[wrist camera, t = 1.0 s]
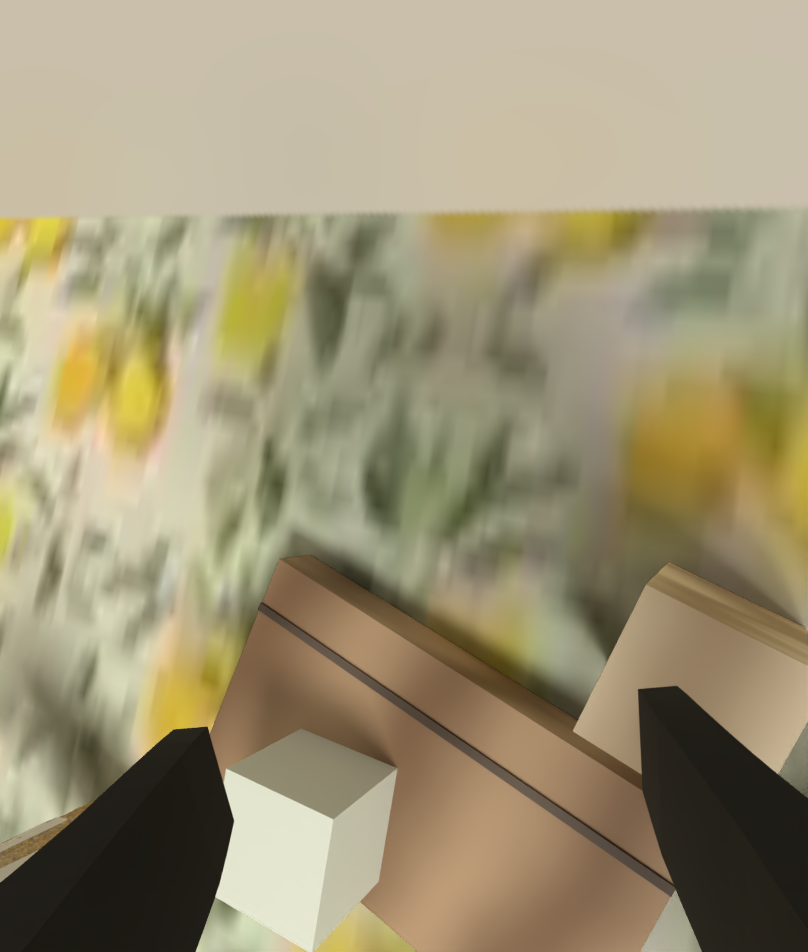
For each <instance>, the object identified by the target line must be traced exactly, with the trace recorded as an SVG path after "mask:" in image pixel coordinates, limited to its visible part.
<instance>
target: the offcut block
mask: <svg viewBox="0 0 808 952" xmlns="http://www.w3.org/2000/svg"><path fill="white" fill-rule="evenodd" d="M396 774H397V768H396V767H393V766H391V765H389V764H386V763H384V762H381V761H379V760H376V759H374V758H372V757H369V756H367V755H364V754H362V753H359V752H357V751H354V750H352V749H350V748H347V747H345V746H342V745H340V744H337V743H335V742H333V741H330V740H328V739H325V738H323V737H320V736H318V735H316V734H313V733H311V732H308V731H306V730H303V729H300V730H298V731H296V732H294V733H292V734H290V735H288V736H286V737H285V738H283V739H281V740H279V741H277V742H275V743H273V744H271V745H269V746H268V747H266V748H264V749H262V750H260V751H258V752H256V753H254V754H253V755H251V756H249V757H247V758H245V759H243V760H241V761H239V762H237V763H236V764H234V765H232V766H230V767H228V768H226V772H225V779H224V787H225V790H226V794H227V797H228V801H229V804H230V808H231V811H232V815H233V818H234V825H233V829H232V834H231V838H230V843H229V847H228V852H227V856H226V860H225V864H224V868H223V872H222V876H221V880H220V884H219V887H218V890H217V893H216V896H215V897H216V898H218V899H220V900H222V901H223V902H225V903H227V904H228V905H230V906H232V907H233V908H235V909H237V910H238V911H240V912H242V913H244V914H245V915H247V916H249V917H250V918H252V919H254V920H255V921H257V922H259V923H260V924H262V925H264V926H265V927H267V928H269V929H271V930H272V931H274V932H276V933H277V934H279V935H281V936H282V937H284V938H286V939H287V940H289V941H291V942H292V943H294V944H296V945H298V946H299V947H301V948H303V949H304V950H306V951H308V952H314V951H315V950H316V949H317V947H318V946H319V945H320V944H321V943H322V942H323V941H324V940H325V939H326V938H327V937H328V936H329V935H330V933H331V932H332V931H333V930H334V929H335V928H336V927H337V926H338V925H339V924H340V923H341V922H342V921H343V920H344V918H345V917H346V916H347V915H348V914H349V913H350V912H351V911H352V910H353V909H354V908H355V907H356V906H357V904H358V903H359V902H360V901H361V900H362V899H363V898H364V897H365V896H366V895H367V894H368V893H369V892H370V890H371V889H372V888H373V887H374V886H375V885H376V884H377V883H378V882H379V876H380V870H381V864H382V858H383V852H384V846H385V840H386V834H387V828H388V822H389V816H390V810H391V804H392V798H393V792H394V786H395V780H396Z"/></svg>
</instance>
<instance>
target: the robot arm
mask: <svg viewBox="0 0 808 952" xmlns="http://www.w3.org/2000/svg"><path fill="white" fill-rule="evenodd" d="M638 703H639V726H640V748H641V770H642V791H643V795H644V798H645V802H646V805H647V808H648V812H649V815H650V819H651V822H652V825H653V829H654V832H655V835H656V838H657V842H658V845H659V848H660V851H661V855H662V857H663V860H664V862H665V865H666V867H667V869H668V872H669V874H670V877H671V879H672V881H673V884H674V886H675V889H676V891H677V893H678V896H679V898H680V901H681V903H682V905H683V908H684V910H685V912H686V915H687V917H688V920H689V922H690V924H691V927H692V929H693V931H694V934H695V936H696V938H697V941H698V943H699V945H700V948H701V950H702V952H808V798H807V797H806V796H804V795H803V794H802V793H801V792H799V791H798V790H797V789H796V788H794V787H793V786H792V785H790V784H789V783H788V782H787V781H786V780H784V779H783V778H782V777H781V776H780V775H778V774H777V773H776V772H775V771H774V770H772V769H771V768H770V767H769V766H768V765H766V764H765V763H764V762H763V761H762V760H760V759H759V758H758V757H757V756H756V755H754V754H753V753H752V752H751V751H750V750H749V749H747V748H746V747H745V746H744V745H743V744H742V743H741V742H739V741H738V740H737V739H736V738H735V737H734V736H733V735H732V734H730V733H729V732H728V731H727V730H726V729H725V728H724V727H723V726H721V725H720V724H719V723H718V722H717V721H716V720H715V719H714V718H713V717H712V716H710V715H709V714H708V713H707V712H706V711H705V710H704V709H703V708H702V707H701V706H700V705H698V704H697V703H696V702H695V701H694V700H693V699H692V698H691V697H690V696H689V695H688V694H686V693H685V692H684V691H683V690H682V689H681V688H679V687H678V686H667V687H656V688H644V689H638ZM233 825H234V818H233V815H232V811H231V808H230V804H229V801H228V797H227V794H226V790H225V787H224V783H223V780H222V776H221V772H220V769H219V765H218V762H217V758H216V755H215V751H214V748H213V744H212V741H211V737H210V734H209V730H208V727H199V728H187V729H176V730H173V731H172V732H170V733H169V734H168V735H167V736H165V737H164V738H163V739H162V740H161V741H160V742H158V743H157V744H156V745H155V746H154V747H153V748H152V749H151V750H150V751H148V752H147V753H146V754H145V755H144V756H143V757H142V758H141V759H140V760H139V761H138V762H136V763H135V764H134V765H133V766H132V767H131V768H130V769H129V770H128V771H127V772H126V773H125V774H123V775H122V776H121V777H120V778H119V779H118V780H117V781H116V782H115V783H114V784H113V785H112V786H110V787H109V788H108V789H107V790H106V791H105V792H104V793H103V794H102V795H101V796H100V797H98V798H97V799H96V800H95V801H94V802H93V803H92V804H91V805H90V806H89V807H87V808H86V809H85V810H84V811H83V812H82V813H81V814H80V815H79V816H78V817H77V818H75V819H74V820H73V821H72V822H71V823H70V824H69V825H68V826H66V827H65V828H64V829H63V830H62V831H61V832H59V833H58V834H57V835H56V836H55V837H53V838H52V839H51V840H50V841H49V842H48V843H46V844H45V845H44V846H43V847H42V848H41V849H39V850H38V851H37V852H36V853H35V854H34V855H32V856H31V857H30V858H29V859H28V860H27V861H25V862H24V863H23V864H22V865H21V866H20V867H18V868H17V869H16V870H15V871H14V872H12V873H11V874H10V875H9V876H8V877H6V878H5V879H4V880H3V881H1V882H0V952H196V949H197V946H198V943H199V941H200V938H201V935H202V932H203V930H204V927H205V924H206V921H207V918H208V916H209V913H210V910H211V907H212V904H213V902H214V899H215V896H216V893H217V890H218V887H219V884H220V880H221V876H222V872H223V868H224V864H225V860H226V856H227V852H228V847H229V843H230V838H231V834H232V829H233Z"/></svg>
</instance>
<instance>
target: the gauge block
mask: <svg viewBox="0 0 808 952" xmlns="http://www.w3.org/2000/svg"><path fill="white" fill-rule="evenodd" d="M667 686H678V687H679V688H681V689H682V690H683V691H684V692H685V693H686V694H688V695H689V696H690V697H691V698H692V699H693V700H694V701H695V702H696V703H697V704H698V705H700V706H701V707H702V708H703V709H704V710H705V711H706V712H707V713H708V714H709V715H710V716H712V717H713V718H714V719H715V720H716V721H717V722H718V723H719V724H720V725H721V726H723V727H724V728H725V729H726V730H727V731H728V732H729V733H730V734H732V735H733V736H734V737H735V738H736V739H737V740H738V741H739V742H741V743H742V744H743V745H744V746H745V747H746V748H747V749H749V750H750V751H751V752H752V753H753V754H754V755H756V756H757V757H758V758H759V759H760V760H762V761H763V762H764V763H765V764H766V765H768V766H769V767H770V768H771V769H772V770H774V771H775V772H776V773H777V774H778V773H779V772H780V770H781V768H782V766H783V764H784V763H785V761H786V759H787V757H788V756H789V754H790V752H791V750H792V749H793V747H794V745H795V743H796V741H797V740H798V738H799V736H800V734H801V733H802V731H803V729H804V727H805V726H806V724H807V722H808V633H807V631H806V629H805V627H803V626H801V625H799V624H797V623H795V622H793V621H791V620H788V619H786V618H784V617H782V616H780V615H778V614H776V613H774V612H772V611H770V610H768V609H766V608H763V607H761V606H759V605H757V604H755V603H753V602H751V601H749V600H747V599H745V598H743V597H740V596H738V595H736V594H734V593H732V592H730V591H728V590H726V589H724V588H722V587H720V586H718V585H715V584H713V583H711V582H709V581H707V580H705V579H703V578H701V577H699V576H697V575H695V574H693V573H690V572H688V571H686V570H684V569H682V568H680V567H678V566H676V565H674V564H672V563H670V562H668V563H667V564H666V565H665V566H664V567H663V568H662V569H661V570H660V571H659V572H658V573H657V574H656V575H655V576H654V577H653V578H652V579H651V580H650V581H649V582H648V583H647V584H646V585H645V587H644V589H643V591H642V593H641V595H640V597H639V599H638V601H637V603H636V605H635V607H634V609H633V611H632V613H631V615H630V617H629V619H628V621H627V623H626V625H625V627H624V629H623V631H622V633H621V635H620V637H619V639H618V641H617V643H616V645H615V647H614V649H613V651H612V653H611V655H610V657H609V659H608V661H607V663H606V665H605V667H604V669H603V671H602V673H601V675H600V677H599V679H598V681H597V683H596V685H595V687H594V689H593V691H592V693H591V695H590V697H589V699H588V701H587V703H586V705H585V707H584V709H583V711H582V713H581V715H580V717H579V719H578V721H577V723H576V725H575V727H574V729H573V732H575V733H576V734H578V735H579V736H581V737H583V738H584V739H586V740H587V741H589V742H591V743H592V744H594V745H595V746H597V747H599V748H600V749H602V750H603V751H605V752H607V753H608V754H610V755H611V756H613V757H615V758H616V759H618V760H619V761H621V762H622V763H624V764H626V765H627V766H629V767H630V768H632V769H634V770H635V771H637V772H638V773H640V774H642V770H641V748H640V726H639V703H638V689H644V688H656V687H667Z"/></svg>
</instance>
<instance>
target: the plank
mask: <svg viewBox="0 0 808 952" xmlns="http://www.w3.org/2000/svg"><path fill="white" fill-rule="evenodd" d="M258 610H259V612H258V614H257V617H256V619H255V622H254V624H253V627H252V629H251V632H250V634H249V637H248V639H247V642H246V644H245V647H244V649H243V652H242V655H241V657H240V660H239V662H238V665H237V667H236V670H235V672H234V675H233V677H232V680H231V682H230V685H229V687H228V690H227V692H226V695H225V697H224V700H223V702H222V705H221V707H220V710H219V712H218V715H217V717H216V720H215V722H214V725H213V727H212V730H211V732H210V737H211V741H212V744H213V748H214V751H215V755H216V758H217V762H218V765H219V769H220V772H221V776H222V780H223V782H224V779H225V772H226V768H228V767H230V766H232V765H234V764H236V763H237V762H239V761H241V760H243V759H245V758H247V757H249V756H251V755H253V754H254V753H256V752H258V751H260V750H262V749H264V748H266V747H268V746H269V745H271V744H273V743H275V742H277V741H279V740H281V739H283V738H285V737H286V736H288V735H290V734H292V733H294V732H296V731H298V730H300V729H303V730H306V731H308V732H311V733H313V734H316V735H318V736H320V737H323V738H325V739H328V740H330V741H333V742H335V743H337V744H340V745H342V746H345V747H347V748H350V749H352V750H354V751H357V752H359V753H362V754H364V755H367V756H369V757H372V758H374V759H376V760H379V761H381V762H384V763H386V764H389V765H391V766H393V767H396V768H397V774H396V780H395V786H394V792H393V798H392V804H391V810H390V816H389V822H388V828H387V834H386V840H385V846H384V852H383V858H382V864H381V870H380V876H379V882H378V883H377V884H376V885H375V886H374V887H373V888H372V889H371V890H370V892H369V893H368V894H367V895H366V896H365V897H364V898H363V899H362V900H361V901H360V902H361V903H362V904H363V905H364V906H366V907H367V908H368V909H369V910H370V911H371V912H372V913H374V914H375V915H376V916H377V917H378V918H379V919H381V920H382V921H383V922H384V923H385V924H386V925H387V926H389V927H390V928H391V929H392V930H393V931H394V932H395V933H397V934H398V935H399V936H400V937H401V938H402V939H403V940H405V941H406V942H407V943H408V944H409V945H410V946H411V947H413V948H414V949H415V950H416V951H417V952H640V951H641V949H642V947H643V945H644V943H645V942H646V940H647V938H648V936H649V934H650V933H651V931H652V929H653V927H654V925H655V924H656V922H657V920H658V918H659V916H660V915H661V913H662V911H663V909H664V907H665V906H666V904H667V902H668V900H669V898H670V897H671V896H672V894H673V893H674V891H675V886H674V884H673V881H672V879H671V877H670V874H669V872H668V869H667V867H666V865H665V862H664V860H663V857H662V855H661V851H660V848H659V845H658V842H657V838H656V835H655V832H654V829H653V825H652V822H651V819H650V815H649V812H648V808H647V805H646V802H645V798H644V795H643V791H642V774H640V773H638V772H637V771H635V770H634V769H632V768H630V767H629V766H627V765H626V764H624V763H622V762H621V761H619V760H618V759H616V758H615V757H613V756H611V755H610V754H608V753H607V752H605V751H603V750H602V749H600V748H599V747H597V746H595V745H594V744H592V743H591V742H589V741H587V740H586V739H584V738H583V737H581V736H579V735H578V734H576V733H575V732H573V729H574V727H575V725H576V723H577V721H578V720H576V719H574V718H573V717H571V716H570V715H568V714H566V713H565V712H563V711H561V710H560V709H558V708H557V707H555V706H553V705H552V704H550V703H549V702H547V701H545V700H544V699H542V698H540V697H539V696H537V695H536V694H534V693H532V692H531V691H529V690H528V689H526V688H524V687H523V686H521V685H519V684H518V683H516V682H515V681H513V680H511V679H510V678H508V677H507V676H505V675H503V674H502V673H500V672H498V671H497V670H495V669H494V668H492V667H490V666H489V665H487V664H486V663H484V662H482V661H481V660H479V659H477V658H476V657H474V656H473V655H471V654H469V653H468V652H466V651H465V650H463V649H461V648H460V647H458V646H456V645H455V644H453V643H452V642H450V641H448V640H447V639H445V638H443V637H442V636H440V635H439V634H437V633H435V632H434V631H432V630H431V629H429V628H427V627H426V626H424V625H422V624H421V623H419V622H418V621H416V620H414V619H413V618H411V617H410V616H408V615H406V614H405V613H403V612H401V611H400V610H398V609H397V608H395V607H393V606H392V605H390V604H389V603H387V602H385V601H384V600H382V599H380V598H379V597H377V596H376V595H374V594H372V593H371V592H369V591H368V590H366V589H364V588H363V587H361V586H359V585H358V584H356V583H355V582H353V581H351V580H350V579H348V578H347V577H345V576H343V575H342V574H340V573H338V572H337V571H335V570H334V569H332V568H330V567H329V566H327V565H326V564H324V563H322V562H321V561H319V560H317V559H316V558H314V557H313V556H311V555H306V556H298V557H291V558H283V559H279V561H278V564H277V566H276V569H275V572H274V574H273V577H272V579H271V582H270V584H269V587H268V589H267V592H266V594H265V597H264V599H263V602H262V603H260V605H259V608H258Z"/></svg>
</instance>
